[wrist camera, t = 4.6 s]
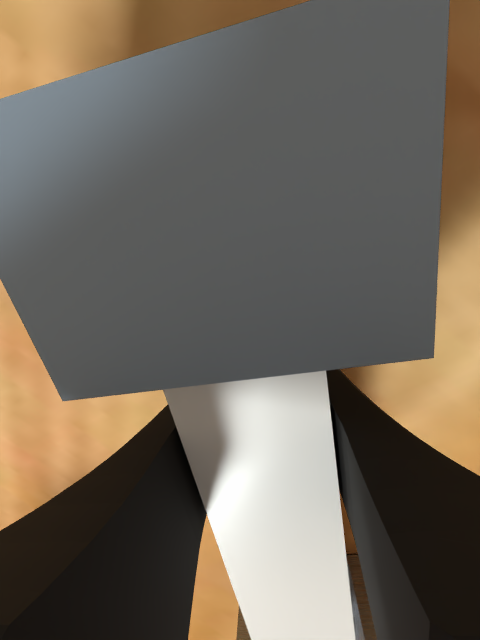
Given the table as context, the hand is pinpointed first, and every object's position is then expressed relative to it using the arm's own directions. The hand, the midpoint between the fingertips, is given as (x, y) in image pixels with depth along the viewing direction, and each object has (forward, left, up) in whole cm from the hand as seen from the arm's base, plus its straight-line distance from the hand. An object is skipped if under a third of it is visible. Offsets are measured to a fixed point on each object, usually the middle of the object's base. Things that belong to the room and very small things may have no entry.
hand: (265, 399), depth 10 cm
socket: (0, -6, -1) cm, 6 cm away
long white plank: (0, +3, -1) cm, 3 cm away
